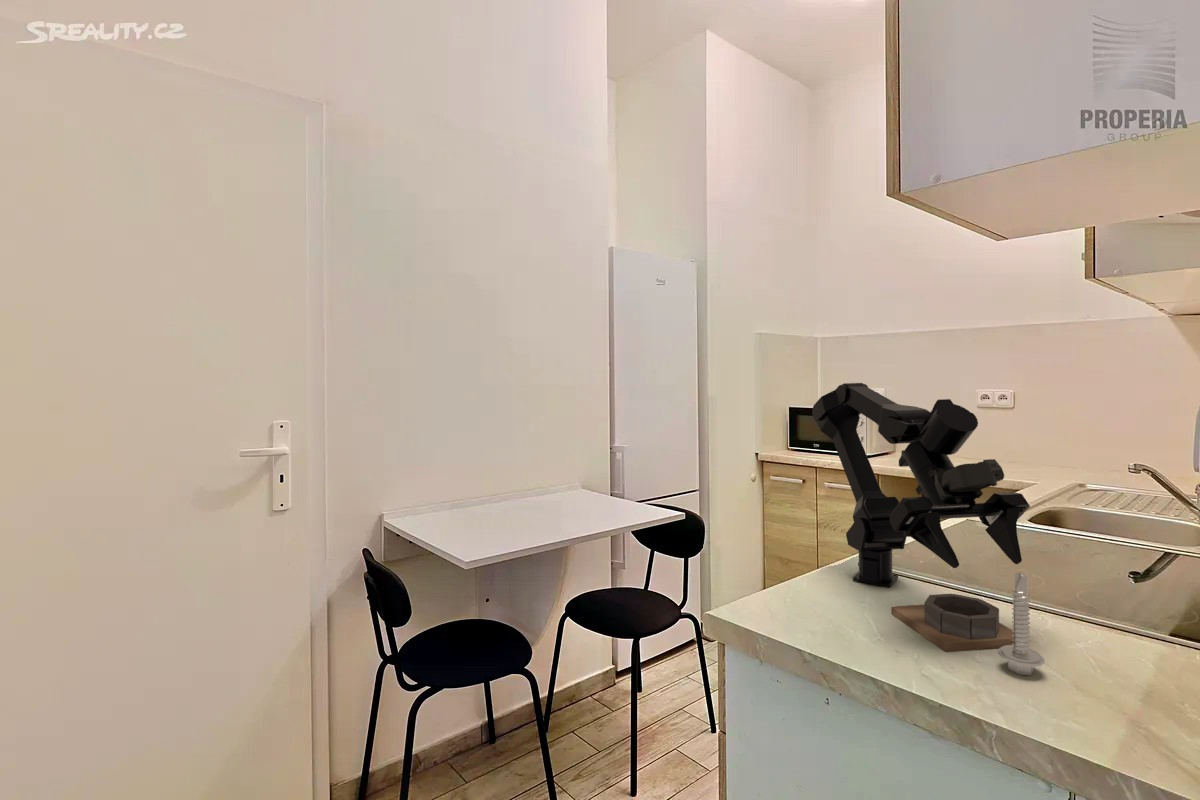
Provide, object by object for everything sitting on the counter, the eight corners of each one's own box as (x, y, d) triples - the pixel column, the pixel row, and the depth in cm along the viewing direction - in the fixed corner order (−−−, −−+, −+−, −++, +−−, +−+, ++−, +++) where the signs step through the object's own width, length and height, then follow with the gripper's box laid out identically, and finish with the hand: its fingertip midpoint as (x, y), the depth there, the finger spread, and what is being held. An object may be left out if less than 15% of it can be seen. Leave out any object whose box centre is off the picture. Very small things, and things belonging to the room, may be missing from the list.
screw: (993, 659, 79) (1035, 664, 77) (1005, 677, 74) (1050, 682, 73) (993, 564, 78) (1036, 567, 77) (1005, 577, 74) (1050, 580, 72)
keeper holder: (891, 613, 94) (891, 588, 94) (961, 609, 95) (961, 583, 95) (945, 651, 81) (945, 622, 81) (1026, 645, 82) (1026, 616, 82)
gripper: (899, 443, 85) (952, 539, 74) (1019, 438, 86) (1087, 531, 76) (870, 487, 93) (914, 579, 82) (980, 481, 94) (1037, 571, 84)
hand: (987, 564), depth 81 cm, fingers open, 9 cm apart
